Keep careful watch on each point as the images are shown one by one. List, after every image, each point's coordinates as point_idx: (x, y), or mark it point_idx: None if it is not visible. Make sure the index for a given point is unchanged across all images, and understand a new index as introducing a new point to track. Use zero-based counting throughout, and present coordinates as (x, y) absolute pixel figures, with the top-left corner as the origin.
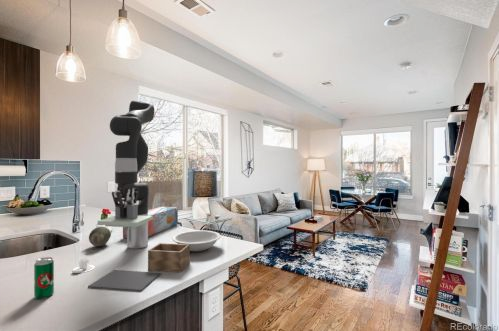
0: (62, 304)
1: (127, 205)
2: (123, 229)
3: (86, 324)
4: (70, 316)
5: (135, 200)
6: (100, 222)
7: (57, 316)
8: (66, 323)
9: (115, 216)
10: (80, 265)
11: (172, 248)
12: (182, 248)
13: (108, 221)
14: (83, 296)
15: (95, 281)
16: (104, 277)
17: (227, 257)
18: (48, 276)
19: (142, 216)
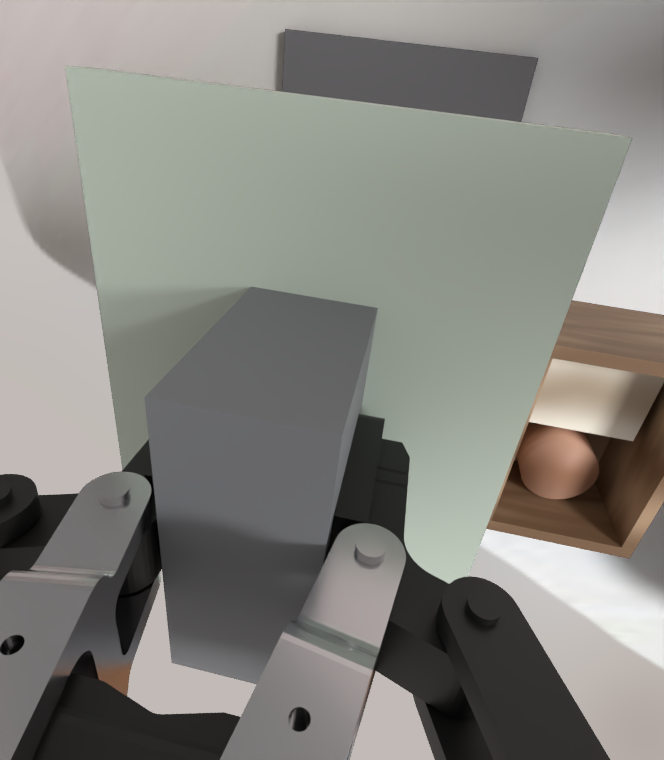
0: (113, 17)
1: (191, 596)
2: None
3: (39, 243)
4: (54, 144)
5: (442, 729)
6: (86, 126)
7: (37, 81)
8: (18, 162)
9: (239, 303)
10: None
11: (657, 448)
12: (626, 505)
13: (94, 267)
14: (197, 80)
15: (345, 39)
16: (404, 67)
17: (630, 618)
18: None
19: (427, 553)
